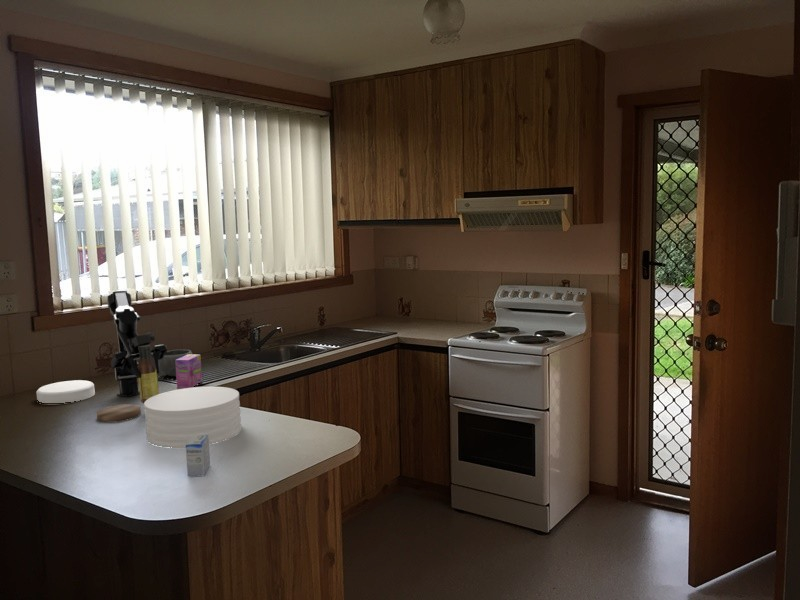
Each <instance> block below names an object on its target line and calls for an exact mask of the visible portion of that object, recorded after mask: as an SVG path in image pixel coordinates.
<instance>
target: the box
mask: <svg viewBox="0 0 800 600" xmlns="http://www.w3.org/2000/svg"><path fill="white" fill-rule="evenodd" d="M201 359H202V358H201V354H198V353H197V354H196V353H195V354H188V355H185V356H183V357H181V358H179V359H176V360H175V364H176V376H175V377H176V390H178V389H184V388H193V387H194V386H195V385H197V384H198V383H200V382H202V383H203V375H202V361H201ZM200 384H201V383H200ZM198 385H199V384H198ZM198 385H197V386H198ZM195 387H196V386H195Z"/></svg>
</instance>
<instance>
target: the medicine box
mask: <svg viewBox="0 0 800 600" xmlns="http://www.w3.org/2000/svg"><path fill="white" fill-rule="evenodd" d="M210 455H211V454H210V445H209V438H208V435H193V436H192V437H191V438H190V440H189V441H188V443H187V444H186V448H185V457H186V459H185V460H186V471H187V477H188V476H195V477H199V476H198V475H204V476H206V473H207V471H208V469H209V467H210V465H211V457H210Z"/></svg>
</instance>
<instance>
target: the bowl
mask: <svg viewBox="0 0 800 600" xmlns="http://www.w3.org/2000/svg"><path fill="white" fill-rule="evenodd" d="M188 354H193V352H192V350H190V349H172V350H167V352H166V354H165V356H164V358H163V359H160V360H158V365H159V372H161V373H162V374H164V375H166V376H169V377H176V364H175V360H176V359H179V358H181V357H183V356H185V355H188Z"/></svg>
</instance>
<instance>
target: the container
mask: <svg viewBox="0 0 800 600" xmlns="http://www.w3.org/2000/svg"><path fill="white" fill-rule="evenodd" d="M35 392H36V401H37V400H38V401H39V402H42V403H64V404H66V403H65V402H71V403H75V402H74V401H76V402H80V400H81V401H84V400H87V399H90V398H92V397H94V396H95V394H96V392H95V384H94V383H93V382H92V381H89V380H82V379H77V380H76V379H74V380H66V381H57V382H54V383H52V382H51V383H49V384H45V385H42V386H41V387H39V388H38V389H37V390H36V391H35ZM38 401H37V402H38Z"/></svg>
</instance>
